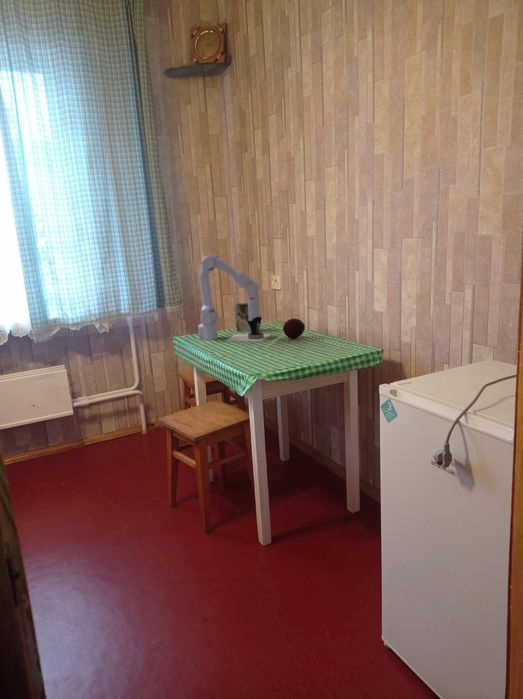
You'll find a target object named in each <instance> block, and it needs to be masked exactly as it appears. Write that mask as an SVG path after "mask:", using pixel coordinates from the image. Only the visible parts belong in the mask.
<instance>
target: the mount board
mask: <svg viewBox="0 0 523 699" xmlns="http://www.w3.org/2000/svg"><path fill="white" fill-rule="evenodd" d="M269 336H271V334H270V333H266V334H265V333H264V332H260V335H251V332H249V333H248V334H247V333H245V334H243V333H242V334H241V333H240V334H238V333H237V334H233V335H232V336H230V337H229V338H227V339H225V340H224V341H225V342H263V341H264V340H266V339H267V338H268V337H269Z"/></svg>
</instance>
